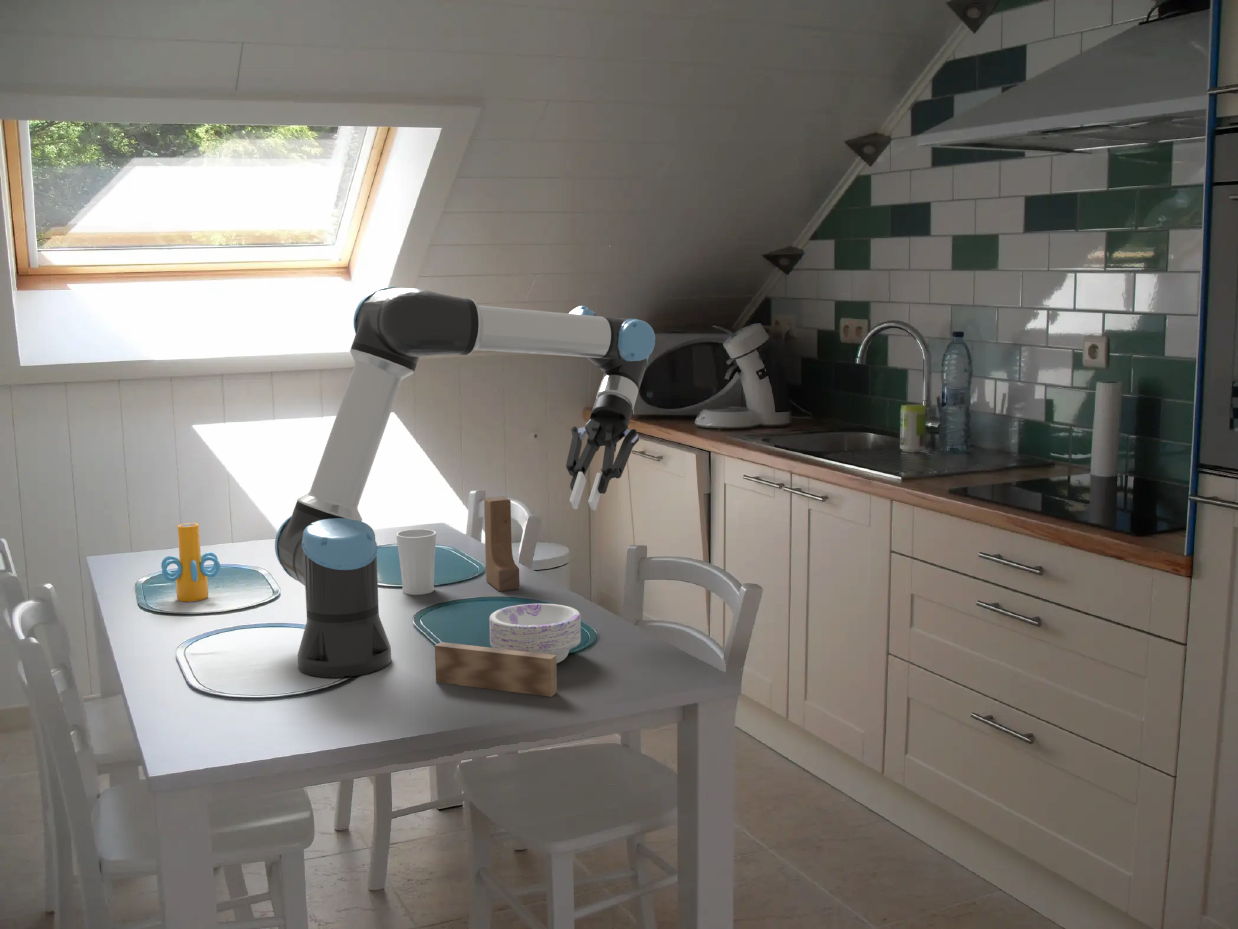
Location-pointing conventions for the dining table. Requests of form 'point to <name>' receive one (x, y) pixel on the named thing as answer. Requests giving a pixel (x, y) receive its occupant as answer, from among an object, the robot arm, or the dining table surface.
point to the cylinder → (190, 565)
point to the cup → (417, 560)
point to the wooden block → (499, 545)
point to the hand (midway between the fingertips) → (582, 505)
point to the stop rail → (496, 669)
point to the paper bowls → (536, 629)
